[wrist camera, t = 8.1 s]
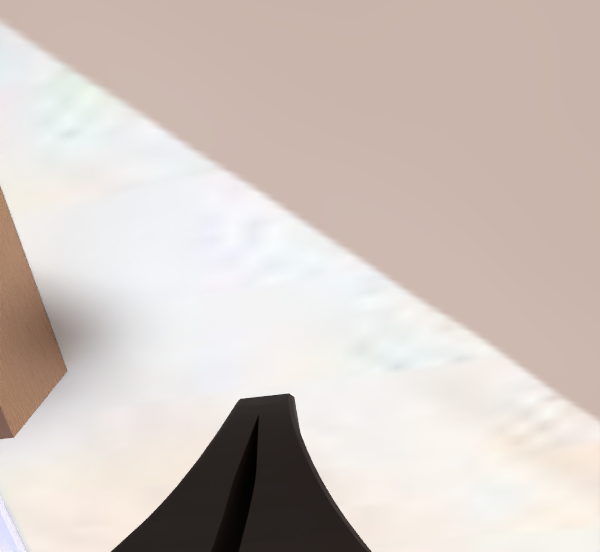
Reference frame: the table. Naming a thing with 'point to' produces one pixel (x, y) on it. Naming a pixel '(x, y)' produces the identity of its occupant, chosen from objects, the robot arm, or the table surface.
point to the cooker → (22, 335)
